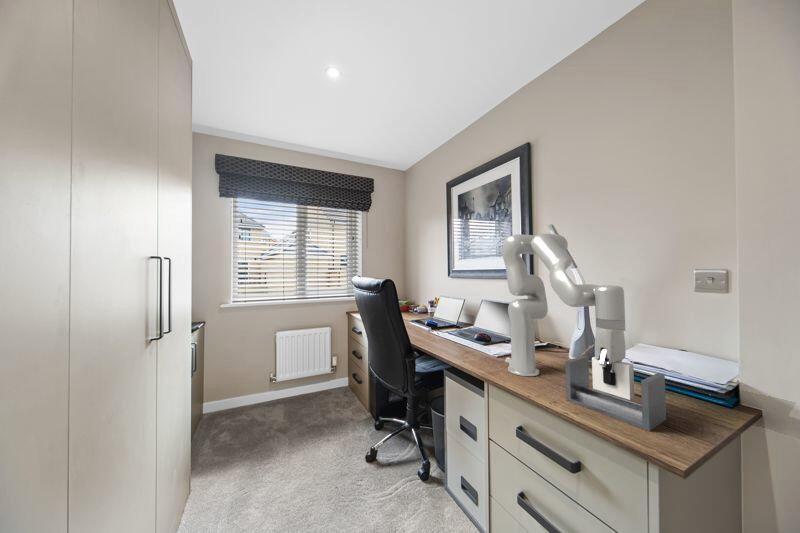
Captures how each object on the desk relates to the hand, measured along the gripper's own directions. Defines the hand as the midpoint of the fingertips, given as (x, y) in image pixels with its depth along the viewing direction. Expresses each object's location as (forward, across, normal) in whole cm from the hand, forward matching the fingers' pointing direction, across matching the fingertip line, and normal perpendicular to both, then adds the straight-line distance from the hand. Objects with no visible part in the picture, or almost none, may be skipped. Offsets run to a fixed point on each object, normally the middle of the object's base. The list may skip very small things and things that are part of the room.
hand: (612, 382), depth 88 cm
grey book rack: (+8, 0, 0) cm, 8 cm away
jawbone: (+8, -28, -21) cm, 36 cm away
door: (+3, 0, 0) cm, 3 cm away
